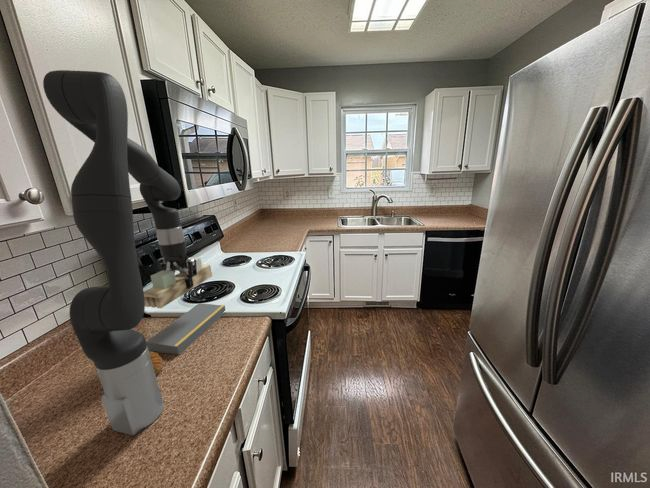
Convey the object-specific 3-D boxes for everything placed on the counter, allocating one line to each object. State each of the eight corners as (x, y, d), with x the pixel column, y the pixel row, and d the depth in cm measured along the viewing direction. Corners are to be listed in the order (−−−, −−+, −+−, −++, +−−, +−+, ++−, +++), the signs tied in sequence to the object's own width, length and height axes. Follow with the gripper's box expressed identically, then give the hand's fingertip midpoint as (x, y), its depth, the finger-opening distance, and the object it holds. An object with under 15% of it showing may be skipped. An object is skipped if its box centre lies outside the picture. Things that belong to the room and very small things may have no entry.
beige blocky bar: (161, 308, 78) (157, 294, 77) (145, 306, 79) (141, 292, 78) (212, 276, 100) (210, 264, 99) (198, 275, 102) (196, 264, 100)
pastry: (169, 369, 76) (166, 358, 75) (143, 384, 71) (139, 373, 70) (157, 356, 82) (154, 346, 80) (132, 369, 77) (128, 358, 76)
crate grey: (193, 272, 92) (191, 262, 91) (183, 272, 93) (180, 261, 92) (202, 268, 96) (200, 258, 95) (192, 267, 97) (190, 257, 96)
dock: (179, 354, 81) (176, 346, 81) (148, 349, 84) (145, 341, 83) (226, 312, 105) (224, 305, 104) (200, 309, 108) (199, 302, 107)
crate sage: (165, 288, 80) (162, 276, 79) (153, 287, 81) (150, 275, 80) (176, 282, 84) (173, 271, 83) (164, 281, 85) (162, 270, 84)
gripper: (143, 243, 83) (155, 290, 88) (181, 244, 80) (191, 294, 84) (163, 237, 90) (173, 281, 95) (198, 238, 87) (207, 284, 91)
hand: (182, 287), depth 90 cm, fingers closed on beige blocky bar, 6 cm apart
